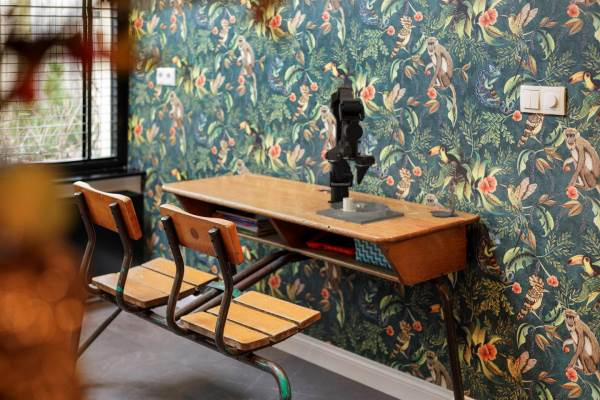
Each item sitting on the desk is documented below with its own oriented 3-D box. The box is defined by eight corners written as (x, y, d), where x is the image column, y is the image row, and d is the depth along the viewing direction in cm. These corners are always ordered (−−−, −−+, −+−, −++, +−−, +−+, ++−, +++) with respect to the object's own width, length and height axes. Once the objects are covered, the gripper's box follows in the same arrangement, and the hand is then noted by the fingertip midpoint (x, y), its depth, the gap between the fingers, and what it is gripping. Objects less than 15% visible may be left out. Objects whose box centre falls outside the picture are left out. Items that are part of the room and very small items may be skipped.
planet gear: (336, 214, 274) (336, 198, 273) (347, 212, 278) (348, 196, 277) (348, 216, 270) (348, 200, 269) (359, 214, 274) (359, 198, 273)
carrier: (316, 214, 279) (316, 205, 278) (358, 206, 293) (358, 197, 292) (361, 224, 263) (361, 215, 262) (403, 215, 277) (404, 206, 277)
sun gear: (350, 211, 278) (350, 203, 277) (359, 210, 281) (359, 201, 280) (360, 214, 274) (360, 205, 274) (369, 212, 278) (369, 203, 277)
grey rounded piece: (427, 215, 279) (429, 186, 277) (445, 212, 284) (446, 184, 282) (444, 219, 272) (446, 190, 270) (462, 216, 277) (463, 188, 275)
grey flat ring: (318, 211, 278) (318, 205, 278) (358, 203, 292) (359, 198, 292) (361, 221, 263) (361, 215, 263) (401, 212, 277) (402, 207, 277)
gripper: (313, 136, 271) (313, 181, 273) (353, 141, 257) (352, 189, 260) (337, 134, 278) (336, 178, 281) (376, 139, 264) (375, 185, 267)
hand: (349, 182), depth 272 cm, fingers open, 9 cm apart
